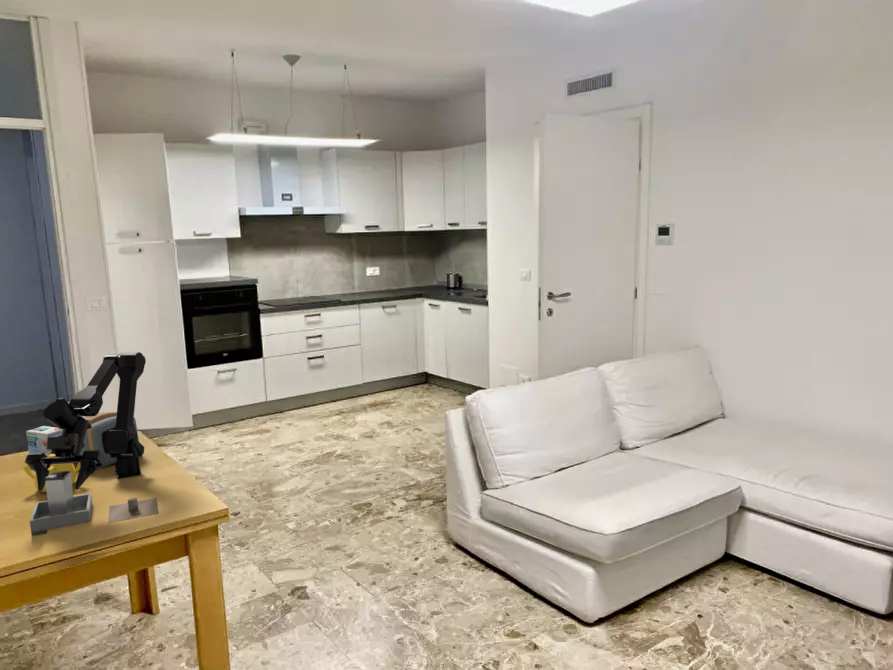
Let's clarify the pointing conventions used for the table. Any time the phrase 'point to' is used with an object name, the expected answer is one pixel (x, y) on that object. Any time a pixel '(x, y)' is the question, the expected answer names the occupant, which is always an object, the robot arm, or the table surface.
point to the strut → (60, 493)
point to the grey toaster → (101, 434)
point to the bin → (44, 522)
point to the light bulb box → (41, 439)
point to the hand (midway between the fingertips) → (58, 489)
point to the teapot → (54, 468)
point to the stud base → (126, 515)
